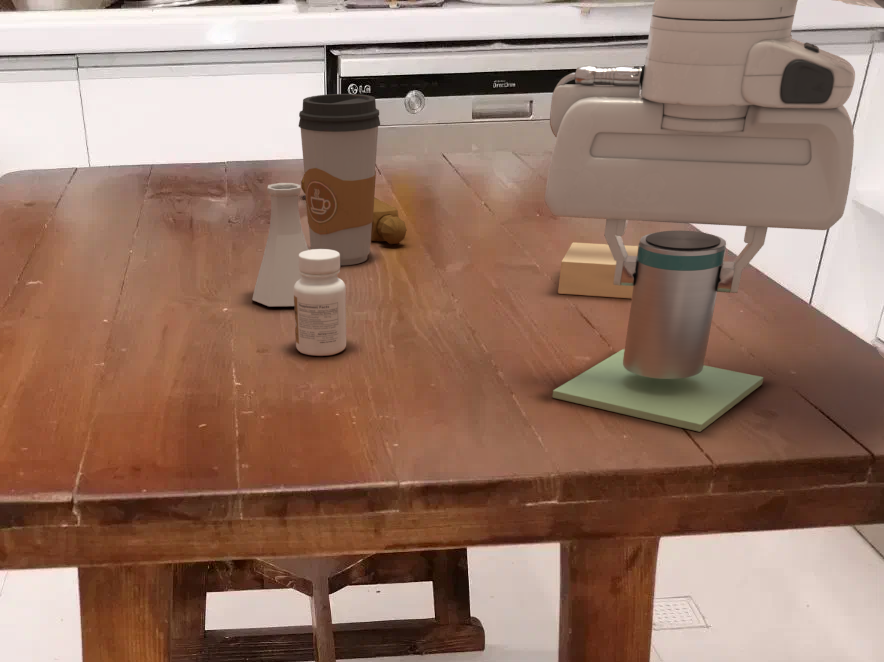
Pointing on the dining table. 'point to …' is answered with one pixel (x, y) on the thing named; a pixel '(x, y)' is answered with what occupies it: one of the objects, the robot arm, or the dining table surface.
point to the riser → (592, 271)
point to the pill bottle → (320, 304)
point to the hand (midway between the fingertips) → (675, 287)
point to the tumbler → (673, 303)
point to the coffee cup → (340, 172)
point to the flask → (281, 248)
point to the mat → (659, 393)
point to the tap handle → (384, 222)
